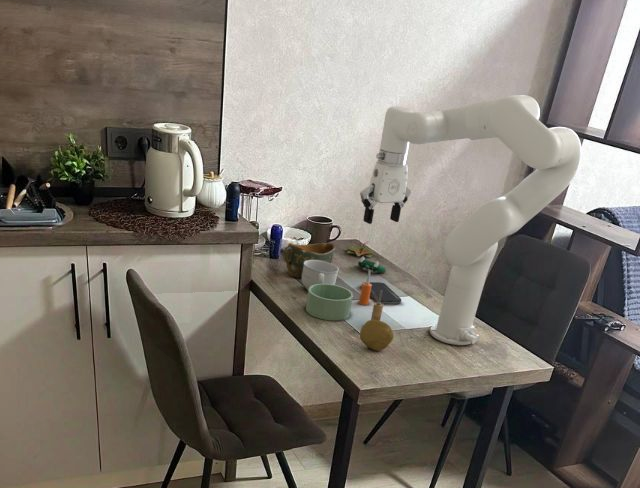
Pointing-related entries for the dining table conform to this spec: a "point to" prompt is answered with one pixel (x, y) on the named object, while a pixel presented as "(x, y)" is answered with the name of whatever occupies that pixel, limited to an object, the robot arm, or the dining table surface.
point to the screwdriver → (365, 291)
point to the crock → (329, 301)
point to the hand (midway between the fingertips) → (380, 221)
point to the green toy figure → (371, 266)
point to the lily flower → (361, 250)
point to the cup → (306, 255)
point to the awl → (377, 309)
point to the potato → (376, 334)
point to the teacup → (318, 273)
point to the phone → (383, 293)
